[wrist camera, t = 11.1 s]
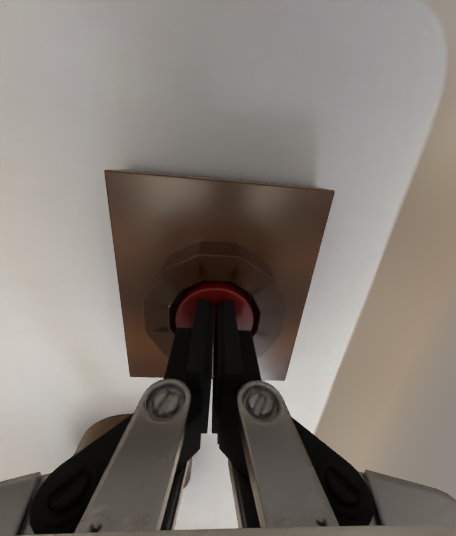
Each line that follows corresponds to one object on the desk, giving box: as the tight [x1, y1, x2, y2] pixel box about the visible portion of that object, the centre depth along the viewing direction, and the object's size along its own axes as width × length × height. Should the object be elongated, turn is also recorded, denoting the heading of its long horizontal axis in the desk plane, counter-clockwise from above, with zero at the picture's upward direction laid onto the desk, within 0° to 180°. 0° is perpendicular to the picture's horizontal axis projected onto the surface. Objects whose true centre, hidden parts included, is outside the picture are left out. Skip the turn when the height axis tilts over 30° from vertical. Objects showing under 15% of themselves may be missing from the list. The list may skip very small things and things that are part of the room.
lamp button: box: [175, 280, 254, 352], centre depth 11 cm, size 4×4×2 cm
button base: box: [104, 170, 335, 381], centre depth 12 cm, size 12×10×4 cm
